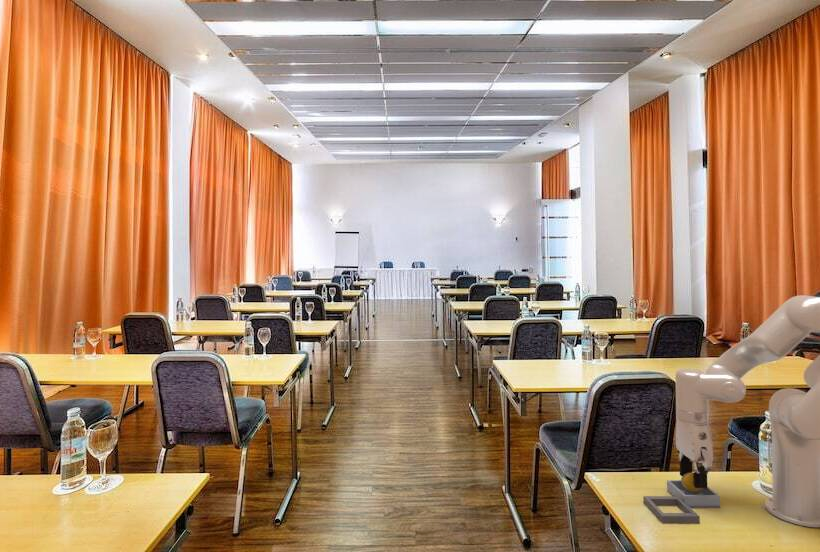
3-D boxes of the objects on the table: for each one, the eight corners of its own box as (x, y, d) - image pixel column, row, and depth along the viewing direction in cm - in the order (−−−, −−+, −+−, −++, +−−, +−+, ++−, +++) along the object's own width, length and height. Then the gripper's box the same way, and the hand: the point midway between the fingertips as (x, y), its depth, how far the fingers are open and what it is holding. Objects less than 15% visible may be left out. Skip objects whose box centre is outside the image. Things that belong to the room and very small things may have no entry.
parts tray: (699, 491, 128) (699, 480, 128) (720, 507, 119) (719, 496, 119) (667, 491, 129) (666, 480, 129) (684, 507, 120) (684, 496, 120)
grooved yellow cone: (709, 493, 124) (707, 478, 118) (690, 500, 125) (687, 486, 119) (696, 475, 128) (694, 459, 122) (678, 482, 129) (674, 467, 123)
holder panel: (677, 502, 122) (677, 496, 122) (699, 523, 112) (699, 516, 112) (643, 502, 123) (643, 496, 123) (662, 523, 113) (662, 516, 113)
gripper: (726, 426, 115) (728, 497, 115) (688, 406, 132) (689, 467, 132) (696, 426, 115) (697, 497, 116) (661, 406, 133) (662, 467, 133)
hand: (693, 480), depth 124 cm, fingers closed on grooved yellow cone, 6 cm apart
